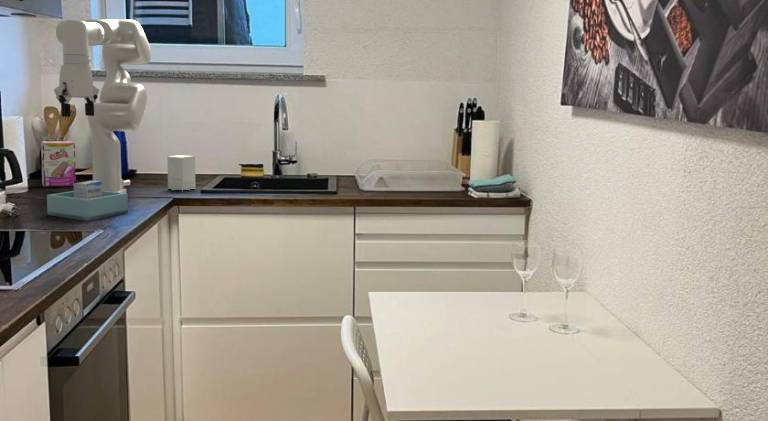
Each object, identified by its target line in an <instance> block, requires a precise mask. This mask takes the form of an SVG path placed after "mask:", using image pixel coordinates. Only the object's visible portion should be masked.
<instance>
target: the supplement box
mask: <svg viewBox="0 0 768 421" xmlns="http://www.w3.org/2000/svg"><path fill="white" fill-rule="evenodd" d="M168 189H171V190H170V191H175V190H182V191H181V192H184V191H183V190H189V191H191V190H190V189H195V190H196V156H195V155H184V154H183V155H182V154H176V155H175V154H174V155H170V156H168V155H167V190H168Z"/></svg>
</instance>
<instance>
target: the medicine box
mask: <svg viewBox="0 0 768 421" xmlns="http://www.w3.org/2000/svg"><path fill="white" fill-rule="evenodd" d="M73 185H74V186H73V191H74V198H82V199H92V198H98V197H102V182H101V181H93V180H86V181H82V182H76V183H75V184H73Z"/></svg>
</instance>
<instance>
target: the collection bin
mask: <svg viewBox="0 0 768 421" xmlns="http://www.w3.org/2000/svg"><path fill="white" fill-rule="evenodd" d="M128 198H129V196H128V192H126V193H120V192H112V191H103V190H102V197H98V198H92V199H82V198H74V190H70V191H64V192H59V193H51V194H46V208H47V216H52V217H58V218H66V219H75V220H82V221H88V222H89V221H93V220H99V219H104V218H108V217H114V216H118V215H124V214H128V213H129V204H128V203H129V202H128V201H129V200H128Z"/></svg>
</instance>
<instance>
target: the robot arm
mask: <svg viewBox="0 0 768 421" xmlns="http://www.w3.org/2000/svg"><path fill="white" fill-rule="evenodd" d="M55 36H56V38H57V41H58V42H60V43H61V44H62V64H61V65H60V72H59V78H58V80H59V82H58V86H57V87H56V88H54V90H53V92H54V94H55V97H56V99H57V101H58V103H59V104H60V112H61V117H63V118H64V117H65V118H66V117H67V118H70V117H72V115H71V103H70V101H71V99H73V98H74V99H75V98H78V99H79V98H80V99H81V98H83V99H84V101H85V103H84V114H85V116H87V120H88V125H89V130H90V131H89V132H90V138H91V142H90V144H91V166H92V168H91V170H92V181H101V182H102V190H103V191H112V192H120V193H127V189H126V188H125V186H130V185H131V180H130V179H126V180H124V179H123V178H122V157H121V156H122V155H121V150H122V148H121V142H120V139H119V138H118V137H117V135H116V134H115V133H114V132H134V131H136V130H138V129H139V128H140V125H141V122H142V120H143V116H144V113H145V110H146V106H147V101H148V99H147V98H148V96H147V94H148V93H147V90H146V88H145V86H144V85H143V84H140V83H135V82H131V81H132V78H131V75H130V74H129V73H128V71H127V70H126V69H125V68H124V67H123V66H122V65H127V66H130V65H131V66H132V65H133V66H145V65H148V64H149V63H150V62H151V59H152V50H151V47H150V43H149V41H148V38H147V36H146V33H145V32H144V29H143V27H142V26H141V24H140V23H139V22H138V21H136V20H134V19H119V18H118V19H116V18H115V19H113V18H106V19H101V18H100V19H84V20H77V19H76V20H75V19H67V20H65V19H64V20H62V21H60V22H58V23H57V25H56V28H55ZM91 46H92V47H94V46H103V47H102V61H103V65H104V70H105V72H106V77H105V80H104V82H103V85H102V86H101V91H100V89H99V88H98V87H96V86H95V85H94V80H93V74H92V68H91V66H90V62H91V58H90V52H89V50H90V49H89V48H90V47H91ZM98 96H99V102H98V103H96V100H97V99H98Z"/></svg>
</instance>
